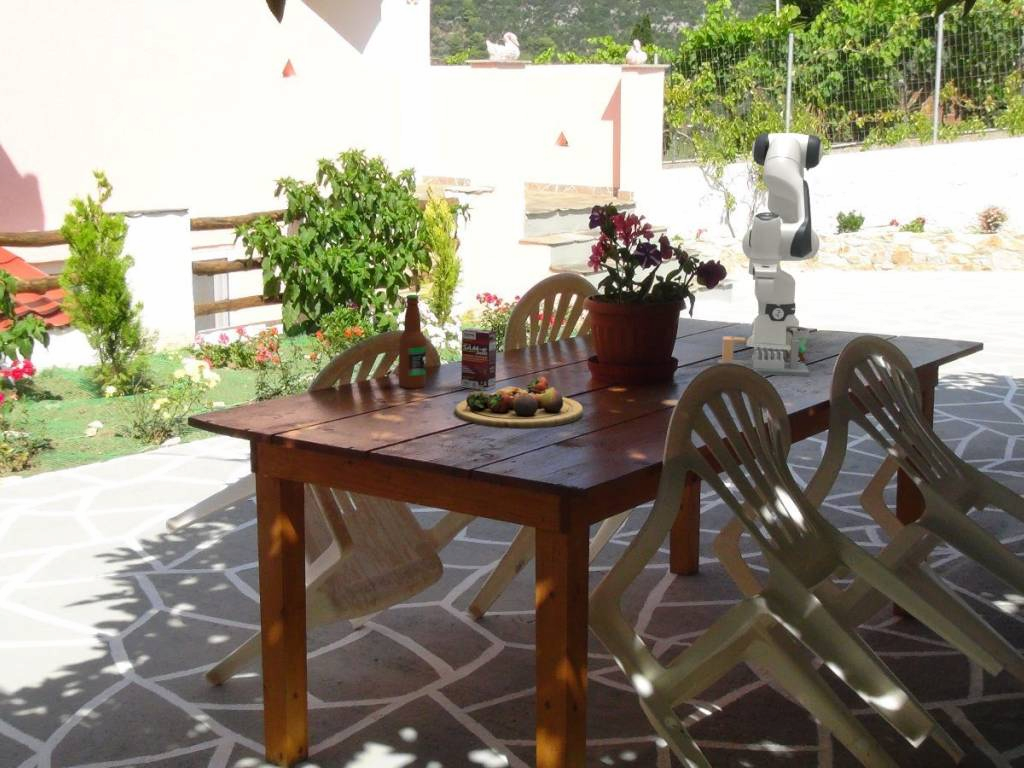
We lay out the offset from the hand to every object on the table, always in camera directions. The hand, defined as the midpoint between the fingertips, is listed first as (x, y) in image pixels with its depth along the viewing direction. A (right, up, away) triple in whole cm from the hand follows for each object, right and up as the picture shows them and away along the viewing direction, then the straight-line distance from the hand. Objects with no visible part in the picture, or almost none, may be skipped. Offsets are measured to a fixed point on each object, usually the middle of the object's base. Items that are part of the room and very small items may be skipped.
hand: (761, 314), depth 381 cm
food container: (+15, -13, +20) cm, 28 cm away
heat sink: (+1, -16, +3) cm, 17 cm away
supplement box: (-83, -22, -31) cm, 92 cm away
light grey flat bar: (+3, -10, +1) cm, 11 cm away
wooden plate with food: (-72, -29, -62) cm, 99 cm away
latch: (-8, -14, +4) cm, 17 cm away
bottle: (-101, -21, -30) cm, 108 cm away
